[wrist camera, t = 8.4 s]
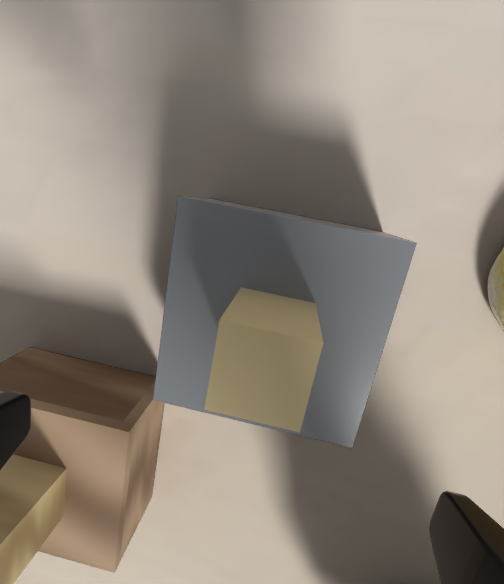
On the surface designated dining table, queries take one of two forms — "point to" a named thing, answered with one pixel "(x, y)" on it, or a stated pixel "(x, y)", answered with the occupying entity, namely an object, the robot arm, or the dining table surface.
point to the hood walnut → (77, 461)
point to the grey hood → (276, 317)
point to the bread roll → (497, 288)
